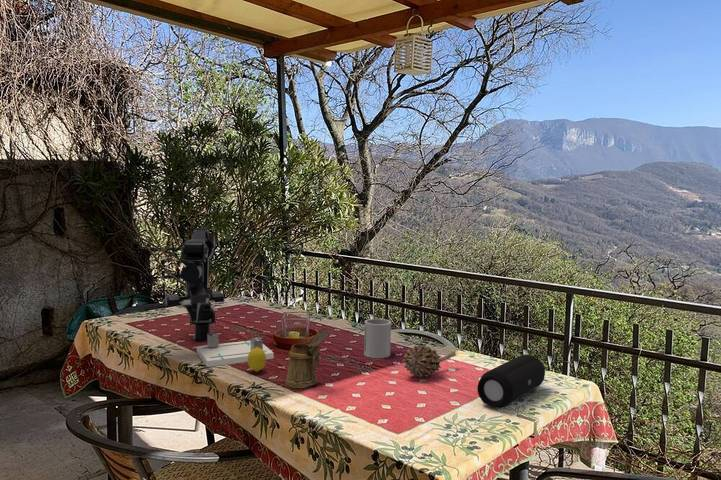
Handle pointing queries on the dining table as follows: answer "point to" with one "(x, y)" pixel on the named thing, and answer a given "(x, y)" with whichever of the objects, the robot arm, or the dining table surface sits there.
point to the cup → (377, 338)
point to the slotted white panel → (229, 353)
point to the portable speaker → (510, 381)
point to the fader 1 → (213, 340)
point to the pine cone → (424, 360)
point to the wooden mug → (304, 362)
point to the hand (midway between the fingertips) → (195, 323)
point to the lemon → (256, 359)
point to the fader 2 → (256, 343)
